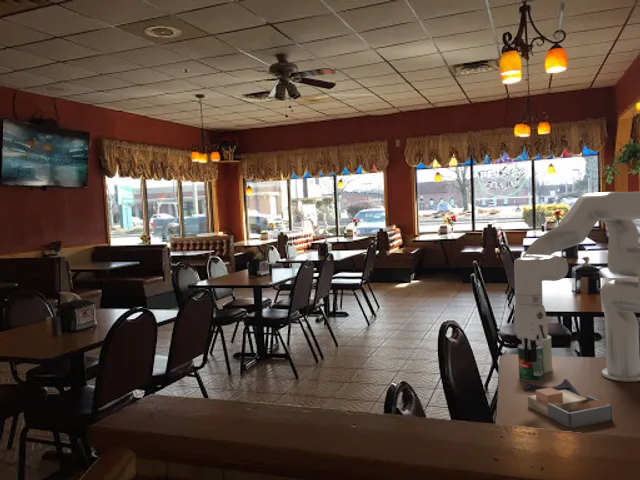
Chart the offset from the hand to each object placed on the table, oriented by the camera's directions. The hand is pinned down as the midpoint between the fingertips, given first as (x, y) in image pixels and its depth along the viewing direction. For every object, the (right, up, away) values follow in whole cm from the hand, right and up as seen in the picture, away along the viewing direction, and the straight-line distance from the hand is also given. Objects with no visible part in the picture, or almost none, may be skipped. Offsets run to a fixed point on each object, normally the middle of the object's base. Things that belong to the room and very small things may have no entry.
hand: (530, 361), depth 161 cm
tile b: (+3, -10, -6) cm, 12 cm away
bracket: (+10, -12, +11) cm, 19 cm away
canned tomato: (+9, -11, +22) cm, 26 cm away
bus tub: (+8, -13, -13) cm, 20 cm away
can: (+15, -10, +32) cm, 37 cm away
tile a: (+12, -9, -12) cm, 19 cm away
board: (+6, -12, -4) cm, 14 cm away
